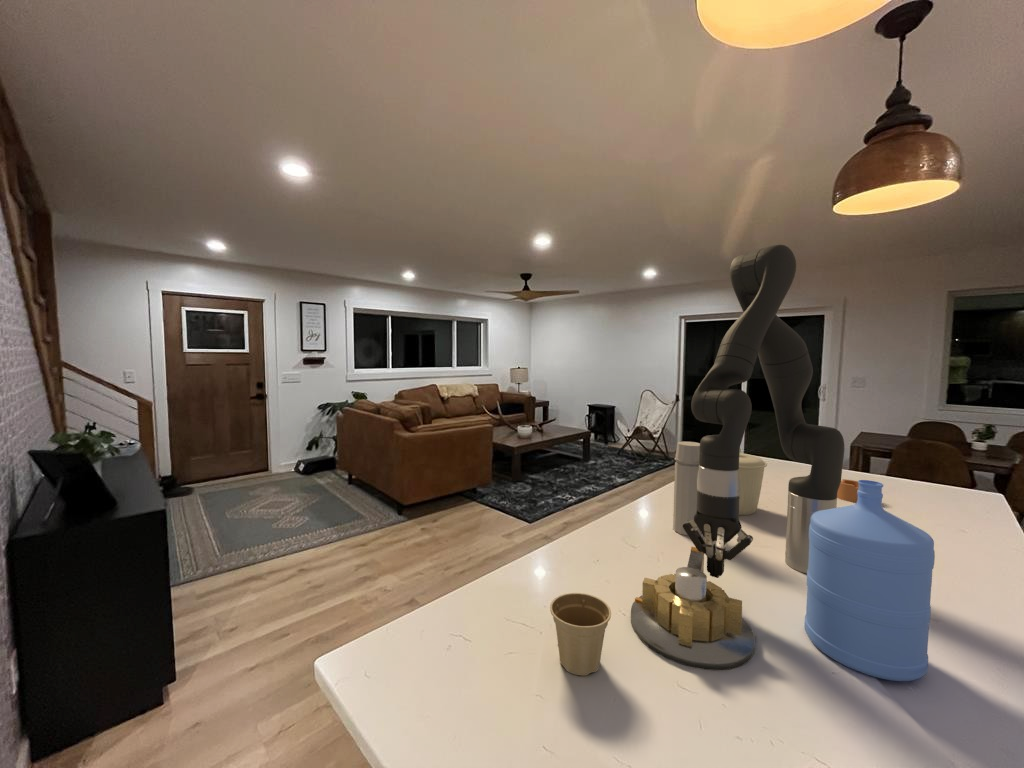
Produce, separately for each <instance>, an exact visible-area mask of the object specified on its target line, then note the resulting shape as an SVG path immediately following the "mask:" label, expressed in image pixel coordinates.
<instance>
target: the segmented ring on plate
mask: <svg viewBox="0 0 1024 768" xmlns="http://www.w3.org/2000/svg"><path fill="white" fill-rule="evenodd" d="M687 562H688V563H687V566H686V567H690V568H694V569H698V570H700V571H702V572H703V573H705V572H704V571H705V569H704V568H705V554H704V553H703V552H699V551H698V550H697V548H696V547H695V546H691V548H690V553H689V558H688V561H687ZM675 582H676V573H673V574H672V573H669V574H665V575H660V576H659V577H658V578H657V579H652V578H649V577H644V579H643V581H642V590H641V591H642V595H641V596H642V609H644V610H648V611H652V612H653V613H654V616H655V619H656V620H657V622H658V623H659V624H661V625H662V626H663V627H664V628H665V629H667V630H668V631H670V630H671V633H674V634H676V635H679V637H678V643H679V644H683V645H686V646H689V647H692V642H693V640H698V641H708V642H709V640H710V641H714V640H717V639H720V638H723V637H724V636H726V633H727V632H729V633H732V634H736V635H740V636H741V624H742V618H743V617H742V616H743V600H742V599H737V598H732V597H729V596H728V594H727V593H726V591H725V589H723V588H722V587H720V586H719V585H717V584H715V583H713V582H712V581H711V580H709V581H708V580H707V582H706V602H703V603H699V602H690V601H687V600H684V599H681V598H678V597H677V596H676V595H675Z"/></svg>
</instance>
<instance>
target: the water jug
mask: <svg viewBox="0 0 1024 768" xmlns="http://www.w3.org/2000/svg"><path fill="white" fill-rule="evenodd" d="M857 481H858V484H859V489H858V490H857V494H858V500H857V503H856V502H855V503H854V504H852V505H851V504H850V505H845V506H840V507H837V508H833V509H827V510H821V511H817V512H815V513H814V514H812V516H811V522H810V526H809V541H810V543H809V564H808V571H807V574H806V586H807V589H806V609H805V610H806V612H805V615H804V632H805V634H806V635H807V638H808V639H809V641H811V643H812V644H814V646H816V648H818V649H819V650H820V651H821V652H822V653H824V654H825V655H826V656H828V657H829V658H830V659H832V660H834V661H836V662H837V663H838V664H841V665H843V666H845V667H847V668H849V669H852V670H854V671H857V672H860V673H862V674H865V675H867V676H871V677H874V678H876V679H877V678H878V679H882V680H887V681H893V682H894V681H895V682H909V681H910V682H912V681H915V680H919V679H921V678H922V677H924V676H925V675H926V674H927V672H928V668H929V655H928V648H929V647H928V646H929V630H930V623H931V611H932V610H931V607H932V606H931V598H932V594H931V593H932V586H933V585H932V582H933V570H934V568H935V567H934V566H935V559H936V557H935V556H936V555H935V554H936V553H935V552H936V551H935V540H934V539H933V538H932V536H931V535H930V533H927V531H925V530H923V529H921V528H919V527H917V526H916V525H914V524H912V523H910V522H908V521H906V520H904V519H902V518H900V517H899V516H897V515H894V514H893V513H891V512H889V511H886V509H884V508H883V497H884V494H883V487H884V484H883V483H882V482H879V481H875V480H867V479H859V480H857Z"/></svg>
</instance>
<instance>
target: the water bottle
mask: <svg viewBox="0 0 1024 768" xmlns="http://www.w3.org/2000/svg"><path fill="white" fill-rule="evenodd" d="M675 450H676V451H675V457H674V460H675V462H674V481H673V482H674V486H673V487H674V488H673V520H672V521H673V522H672V524H673V525H672V529H673V530H674V531H676V532H675V533H677V534H680V535H681V534H682V536H686V537H689V536H688V535H687V533H686V531H685V530H684V528H683V524H684V523H686V522H687V521H691V520H693V519H694V516H695V514H696V511H697V477H698V470H699V454H700V442H695V441H678V442H677V444H676V449H675ZM697 527H698V526H697ZM697 531H698V532H699V534H700V535H701V531H700V530H699V528H698V529H697Z"/></svg>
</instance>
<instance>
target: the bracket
mask: <svg viewBox="0 0 1024 768" xmlns="http://www.w3.org/2000/svg"><path fill="white" fill-rule="evenodd" d="M858 489H859V484H858V480H853V479H845V478H841V483H840V486H839V489H838V492H837V500H842V501H846V502H849V503H855V504H856V503H857V500H858V494H857V490H858Z"/></svg>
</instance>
